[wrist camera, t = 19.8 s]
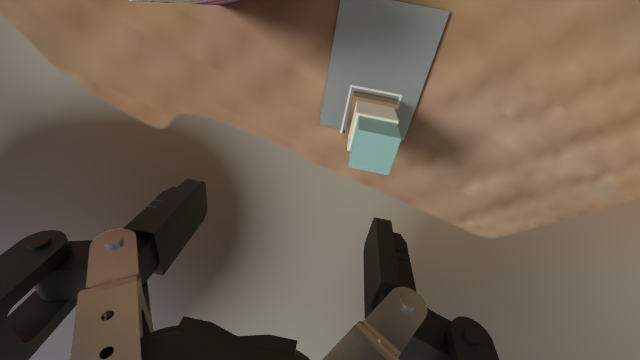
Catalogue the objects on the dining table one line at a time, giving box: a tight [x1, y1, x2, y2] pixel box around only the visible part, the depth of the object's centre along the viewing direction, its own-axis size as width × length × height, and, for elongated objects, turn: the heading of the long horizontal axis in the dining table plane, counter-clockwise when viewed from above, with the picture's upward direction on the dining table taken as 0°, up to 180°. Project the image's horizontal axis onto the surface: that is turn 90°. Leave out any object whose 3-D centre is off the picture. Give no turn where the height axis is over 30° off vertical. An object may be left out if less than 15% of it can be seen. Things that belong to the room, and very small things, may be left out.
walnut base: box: [344, 90, 399, 139], centre depth 39 cm, size 6×6×3 cm
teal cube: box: [349, 116, 402, 175], centre depth 32 cm, size 4×4×4 cm
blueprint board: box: [319, 0, 450, 142], centre depth 38 cm, size 18×13×1 cm
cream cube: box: [347, 100, 399, 151], centre depth 36 cm, size 5×5×5 cm
